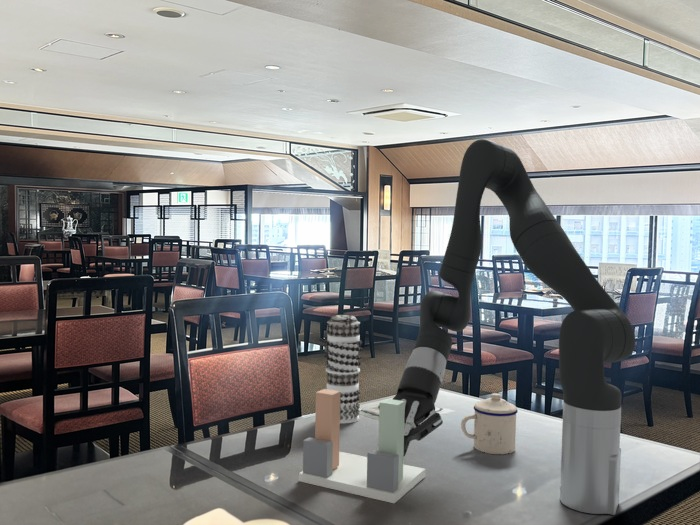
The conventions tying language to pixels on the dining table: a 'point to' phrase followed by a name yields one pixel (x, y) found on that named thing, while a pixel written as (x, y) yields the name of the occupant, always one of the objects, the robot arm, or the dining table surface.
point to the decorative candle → (344, 364)
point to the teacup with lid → (493, 425)
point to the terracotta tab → (328, 420)
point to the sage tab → (392, 430)
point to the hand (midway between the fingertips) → (395, 456)
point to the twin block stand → (357, 472)
